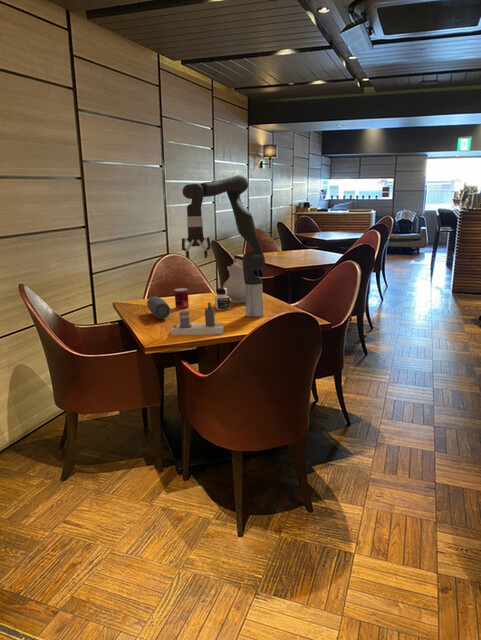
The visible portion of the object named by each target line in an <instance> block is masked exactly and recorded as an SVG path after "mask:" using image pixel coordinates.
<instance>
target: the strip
mask: <svg viewBox="0 0 481 640" xmlns="http://www.w3.org/2000/svg"><path fill="white" fill-rule="evenodd" d="M215 316H216V315H215V308H214V307H212V302H207V308H206V307H205V309H204V318H205V323H190V328H180V323H179V324H177V323H176V324H173V325H172V326H171V329H170V336H174V337H175V336H199V335H201V336H202V335H203V336H204V335H205V336H206V335H223V334H224V331H225V327H224V326H225V323H224V322H215V321H216V320H215Z"/></svg>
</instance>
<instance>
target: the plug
mask: <svg viewBox="0 0 481 640" xmlns="http://www.w3.org/2000/svg"><path fill="white" fill-rule="evenodd" d="M178 314H179V324H180V328H190V324H191V323H190V322H191V321H190V310H181V311H179V313H178Z"/></svg>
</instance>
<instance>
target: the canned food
mask: <svg viewBox="0 0 481 640" xmlns="http://www.w3.org/2000/svg"><path fill="white" fill-rule="evenodd" d="M174 301H175V302H174V303H175V308H176V310H185V309H188V308H189V306H190V305H189V303H190V302H189V291H188V288H186V287H180V288H175V289H174Z"/></svg>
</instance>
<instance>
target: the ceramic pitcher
mask: <svg viewBox="0 0 481 640" xmlns="http://www.w3.org/2000/svg"><path fill="white" fill-rule="evenodd" d="M226 269H227V271H228V273H229V276H228V279H227V280H226V281H225V282H224V283H223V287H222V288H227V296H229V297H230V303H232V304H241V303H245V281H244V276H243V265H239V262H238V260H237V259H233V264H230V266H227V268H226Z"/></svg>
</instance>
